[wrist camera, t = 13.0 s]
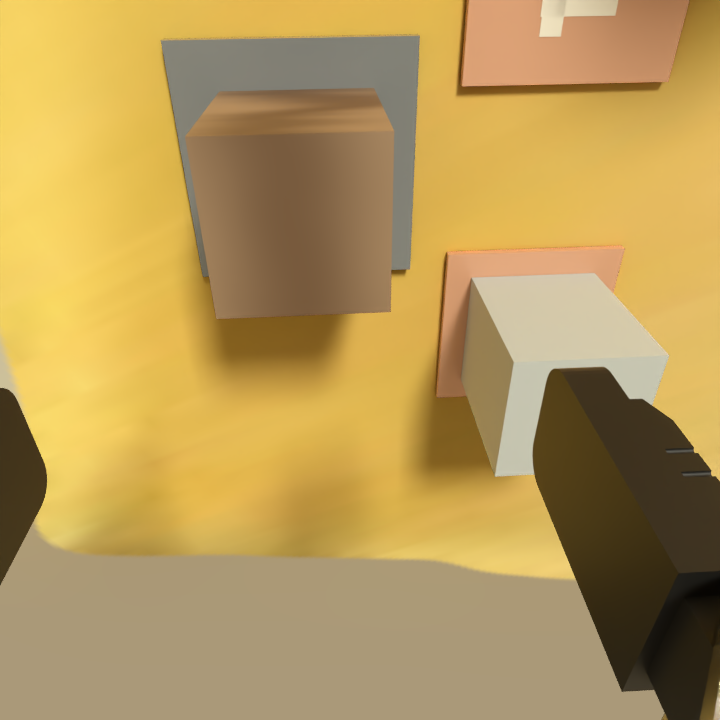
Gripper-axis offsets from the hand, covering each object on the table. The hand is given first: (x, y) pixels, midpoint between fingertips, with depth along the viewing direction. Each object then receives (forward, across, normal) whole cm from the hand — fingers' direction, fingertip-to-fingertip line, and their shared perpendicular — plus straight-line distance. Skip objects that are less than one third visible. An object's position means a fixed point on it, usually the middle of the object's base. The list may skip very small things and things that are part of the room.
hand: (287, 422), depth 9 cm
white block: (+14, -9, +7) cm, 18 cm away
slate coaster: (+14, 0, 0) cm, 14 cm away
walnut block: (+14, 0, 0) cm, 14 cm away
